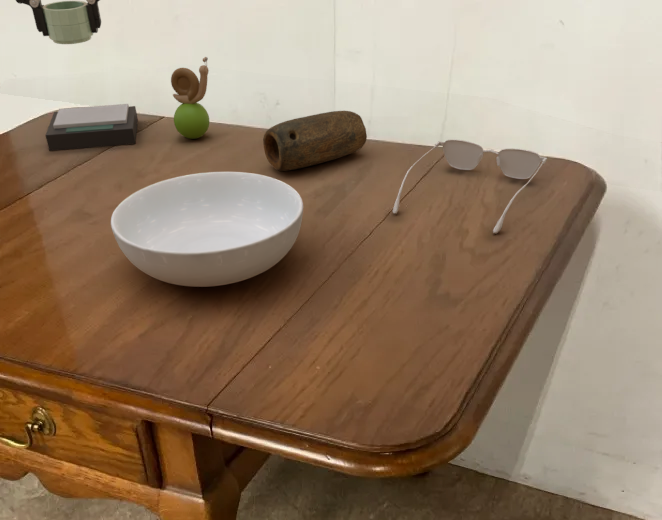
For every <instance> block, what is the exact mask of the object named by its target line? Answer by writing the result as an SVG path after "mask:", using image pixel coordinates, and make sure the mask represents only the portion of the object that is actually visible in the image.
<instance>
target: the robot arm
mask: <svg viewBox="0 0 662 520" xmlns="http://www.w3.org/2000/svg"><path fill="white" fill-rule="evenodd" d="M15 1H16V3H17V4H19V5H20V4H24V5H27V6H29V7H30V8H31V12H32V14H33V18H34V23H35V26H36V29H37V31H38V32H39V33H42V36H43V37H49V35H48V31H47V26H46V22H45V18H44V14H43V10H42V7H43V6H44V5H45V4H43V3H42V0H15ZM99 1H101V0H85V2H86V3H87V10H88V15H89V20H90V25H91V30H92V33H94V34H97V33H98V32H99V29H101V26H102V18H101V13H100V9H99V8H100V7H99Z"/></svg>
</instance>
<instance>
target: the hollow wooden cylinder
mask: <svg viewBox="0 0 662 520" xmlns="http://www.w3.org/2000/svg"><path fill="white" fill-rule="evenodd" d="M367 136H368V135H367V128H366V126H365V124H364V120H363V118H362V116H361V115H360V114H358V113H356V112H354V111H350V110H335V111H334V110H333V111H327V112H322V113H321V112H320V113H317V114H312V115H307V116H301V117H296V118H293V119H292V118H291V119H288V120H285V121H282V122H280V123H277V124H275V125H273V126H271V127H270V128H268V129H267V130H266V131H265V133H264V134H263V137H262V138H263V139H262V140H263V141H262V143H263V144H262V145H263V151H264V154H265V157H266V159H267V161H268V163H269V164H271V166H273V168H274V169H275V170H277V171H279V172H285V171H293V170H300V169H304V168H309V167H311V166H314V165H320V164H323V163H327V162H330V161H333V160H337V159H340V158H342V157H345V156H348V155H350V154H352V153H353V154H354V153H355V152H357V151H359V150H360V149H362V147H364V146H365V144H366V142H367V138H368V137H367Z"/></svg>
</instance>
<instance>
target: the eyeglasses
mask: <svg viewBox="0 0 662 520" xmlns="http://www.w3.org/2000/svg"><path fill="white" fill-rule="evenodd" d="M439 147H442V151H443V154H444V158H445V160H446V162H447V164H448V165H449V166H450V167H452V168H454V169H457V170H461V171H473V170H475V169H476V168H477V166H478V165H479V164H480V163H481V161H482V160H483V158H484V154H485V153H491V154H494V155H497V156H496V157H495V161H496V166H497V167H499V168H500V170H501V172H502V174H503V175H504V176H506V177H507V178H511V179H517V180H527V179H529V180H528V181H527V182H526V183H525V184H524V185H523V186H522V187H520V188H519V190H517V191H516V192H515V194H514V195H513V196H512V198H511V199H510V200H509V202H508V204H507V205H506V207H505V209H503V212H502V214H501V216H500V218H499V219H498V220H497V222H496V224H495V226H494V227H493V230H492V233H493V234H498V233H499V232H500V231H501V230H502V229H503V225H504V221H505V217H506V215H507V213H508V212H509V209H510V207H511V205H512V203H513V202H514V200H515V199H516V197H517V196H518V195H519V194H520V192H521V191H523V190H524V189H525V188H526V187H527V185H528V184H529V183H530V182H531V181H532V180H533V178H534V177H535V176H536V174H537V173H538V172H539V170H540V169H541V167H542V166H544V165H545V163H546V162H547V161H548V158H547V157H543V156H541V155H540V154H539V153H538V152H535V151H532V150H527V149H522V148H502V149H501V150H499V152H498V151H496V150H494V149H492V148H490V149H484V148H483V147H482V145H480V144H479V143H475V142H472V141H469V140H462V139H446V140H445V141H437V142H436V143H435V144H434V147H432V148H431V149H430V150H428V151H427V152H425V154H423V155H422V156H421V157H419V158H418V160H416V161H415V162H414V163H413V164H412V165H411V166H410V167H409V169H407V172H406V173H405V175H404V177H403V180H402V182H401V185H400V187H399V189H398V193H397V195H396V199H395V201H394V204H393V208H392V214H393V215H397V214H398V212H399V209H400V199H401V196H402V192H403V188H404V185H405V182H406V181H407V177H408V175H409V173H410V171H411V170H412V169H413V168H414V166H415V165H416V164H417V163H419V162H420V161H421V160H422V158H424V157H425V156H426V155H427V154H429V153H430V152H431V151H432V150H434V149H438V148H439Z"/></svg>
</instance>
